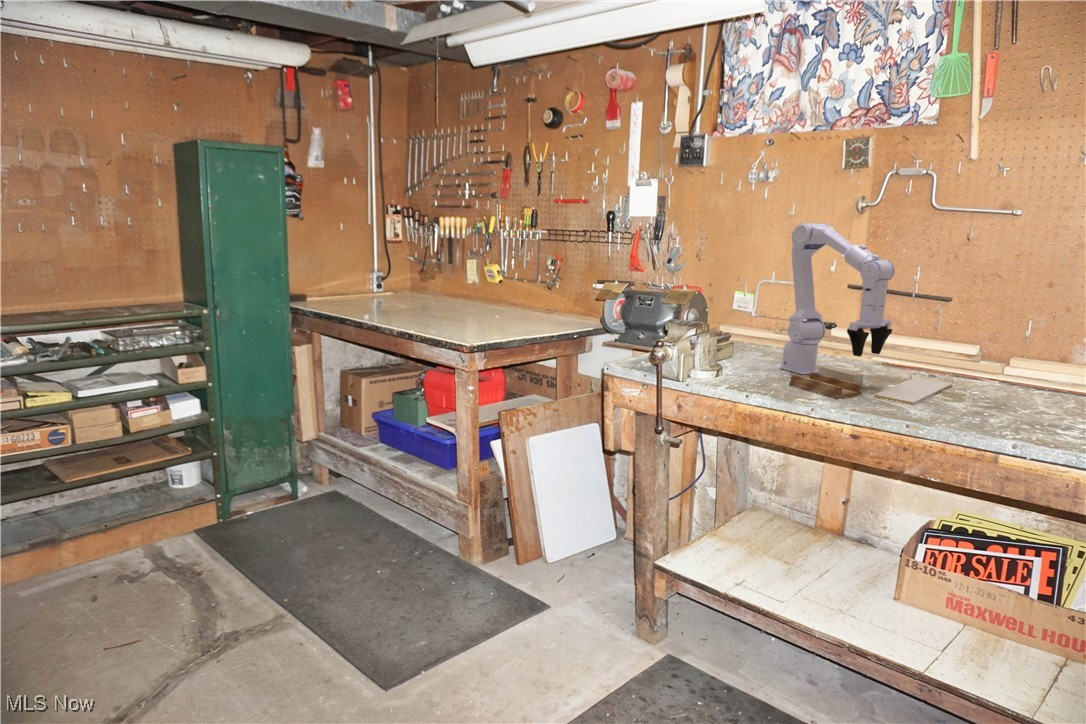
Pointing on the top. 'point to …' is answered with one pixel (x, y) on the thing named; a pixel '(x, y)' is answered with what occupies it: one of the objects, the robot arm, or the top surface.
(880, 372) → the top surface
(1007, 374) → the top surface
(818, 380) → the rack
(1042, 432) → the top surface
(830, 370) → the beige rectangular block
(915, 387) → the baseboard
